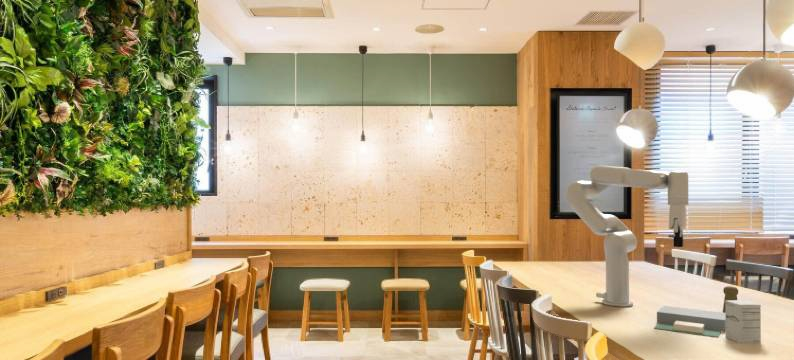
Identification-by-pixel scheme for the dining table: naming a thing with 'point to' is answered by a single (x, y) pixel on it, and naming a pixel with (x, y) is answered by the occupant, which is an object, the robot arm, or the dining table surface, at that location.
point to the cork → (729, 294)
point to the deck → (692, 317)
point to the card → (689, 326)
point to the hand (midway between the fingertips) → (678, 246)
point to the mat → (671, 328)
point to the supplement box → (743, 321)
